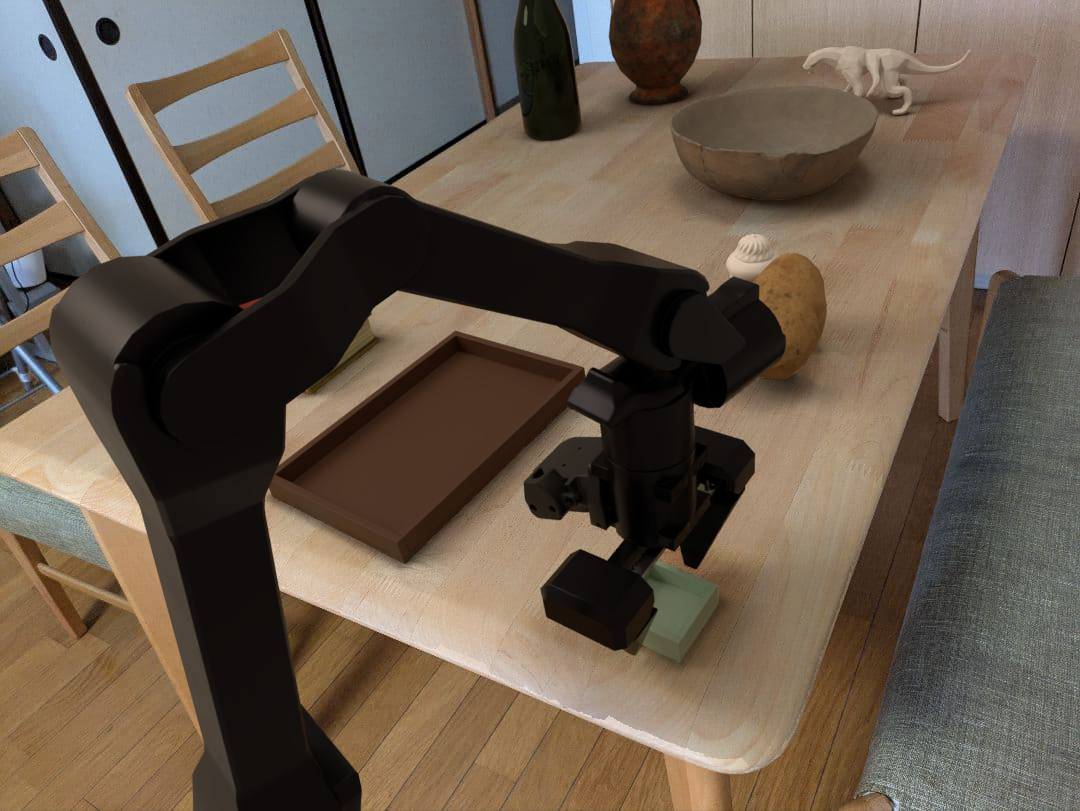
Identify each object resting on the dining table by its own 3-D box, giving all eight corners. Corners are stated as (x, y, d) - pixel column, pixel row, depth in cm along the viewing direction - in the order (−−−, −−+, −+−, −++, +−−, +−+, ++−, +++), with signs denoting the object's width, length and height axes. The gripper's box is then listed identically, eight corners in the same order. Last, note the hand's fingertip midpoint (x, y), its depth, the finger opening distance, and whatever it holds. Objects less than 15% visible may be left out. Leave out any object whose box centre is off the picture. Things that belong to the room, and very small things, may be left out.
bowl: (652, 220, 116) (648, 149, 110) (694, 145, 136) (692, 82, 130) (865, 225, 106) (872, 148, 100) (876, 144, 126) (883, 75, 120)
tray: (404, 563, 70) (397, 542, 68) (271, 496, 79) (263, 476, 78) (587, 387, 86) (584, 367, 85) (459, 348, 96) (455, 330, 94)
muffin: (718, 283, 99) (718, 229, 95) (768, 273, 100) (770, 218, 95) (737, 308, 94) (737, 252, 90) (789, 297, 95) (792, 240, 90)
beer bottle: (565, 142, 145) (538, -73, 126) (514, 140, 150) (480, -68, 131) (592, 121, 152) (570, -86, 133) (542, 119, 157) (514, -81, 138)
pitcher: (624, 85, 167) (611, -87, 149) (733, 79, 160) (732, -101, 143) (603, 113, 155) (586, -70, 137) (720, 109, 148) (718, -85, 130)
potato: (706, 394, 82) (703, 312, 77) (760, 315, 92) (761, 238, 87) (793, 413, 78) (797, 328, 73) (840, 328, 88) (847, 248, 83)
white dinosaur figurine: (800, 99, 146) (802, 39, 140) (957, 89, 139) (967, 25, 133) (800, 123, 137) (802, 60, 131) (968, 114, 130) (979, 47, 124)
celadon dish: (679, 663, 58) (678, 643, 57) (606, 628, 61) (604, 609, 60) (719, 604, 62) (718, 584, 61) (648, 574, 65) (646, 554, 64)
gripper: (617, 338, 62) (633, 493, 71) (454, 492, 51) (497, 653, 60) (759, 374, 56) (756, 539, 65) (609, 558, 45) (631, 726, 54)
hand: (662, 607), depth 61 cm, fingers open, 9 cm apart
